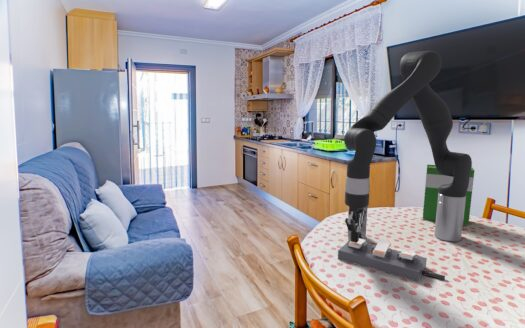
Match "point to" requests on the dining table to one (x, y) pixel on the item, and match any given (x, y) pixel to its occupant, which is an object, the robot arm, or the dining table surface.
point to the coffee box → (363, 229)
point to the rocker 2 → (381, 248)
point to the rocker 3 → (407, 255)
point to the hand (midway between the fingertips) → (354, 241)
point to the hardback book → (431, 193)
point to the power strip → (386, 261)
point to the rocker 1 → (358, 244)
